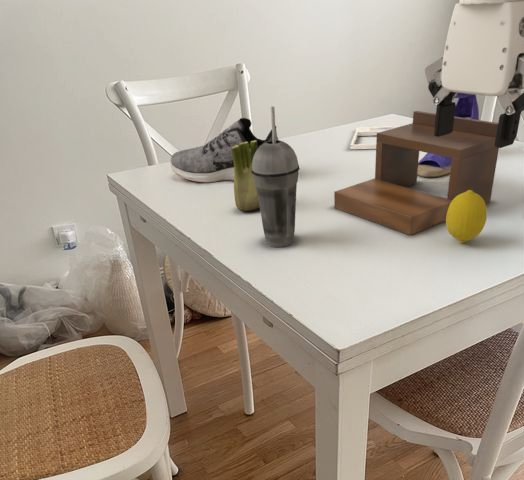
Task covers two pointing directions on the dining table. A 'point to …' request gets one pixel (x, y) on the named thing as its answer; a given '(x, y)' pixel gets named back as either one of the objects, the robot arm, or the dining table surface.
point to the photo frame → (368, 132)
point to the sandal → (440, 164)
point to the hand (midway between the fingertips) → (472, 140)
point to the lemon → (466, 216)
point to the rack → (406, 167)
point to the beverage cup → (276, 188)
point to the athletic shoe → (215, 155)
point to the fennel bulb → (244, 176)
